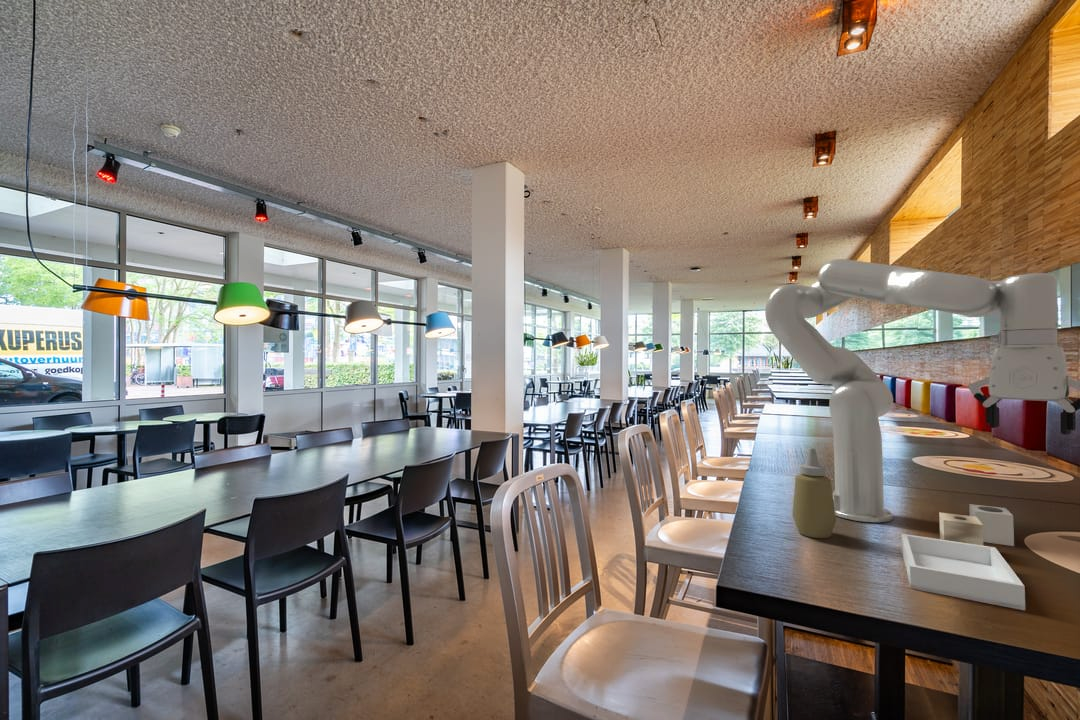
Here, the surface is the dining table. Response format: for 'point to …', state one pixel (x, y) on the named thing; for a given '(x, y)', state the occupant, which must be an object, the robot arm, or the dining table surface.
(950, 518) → the ash block
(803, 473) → the squeeze bottle
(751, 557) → the dining table surface
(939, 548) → the tray
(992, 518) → the grey block
